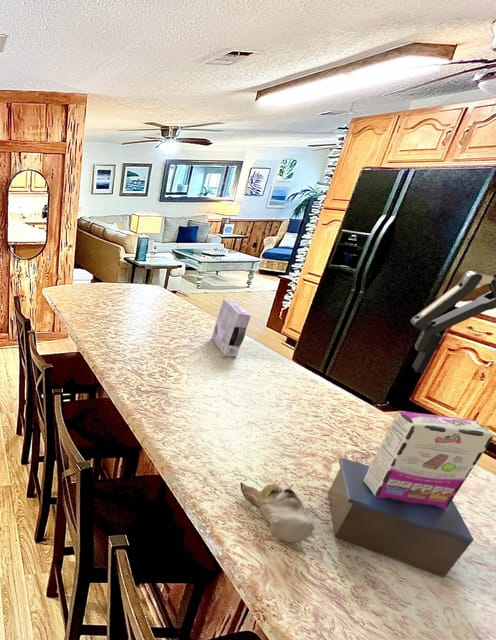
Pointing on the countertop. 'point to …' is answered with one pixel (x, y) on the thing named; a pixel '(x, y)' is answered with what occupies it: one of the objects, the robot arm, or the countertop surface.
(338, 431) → the countertop surface
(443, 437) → the candy bar box
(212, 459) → the countertop surface
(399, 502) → the chest lid
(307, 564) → the countertop surface
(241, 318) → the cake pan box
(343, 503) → the chest
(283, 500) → the ceramic sculpture
